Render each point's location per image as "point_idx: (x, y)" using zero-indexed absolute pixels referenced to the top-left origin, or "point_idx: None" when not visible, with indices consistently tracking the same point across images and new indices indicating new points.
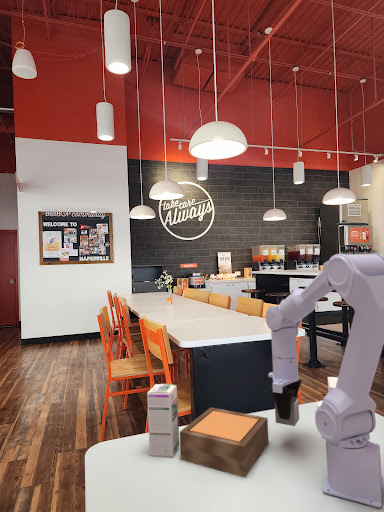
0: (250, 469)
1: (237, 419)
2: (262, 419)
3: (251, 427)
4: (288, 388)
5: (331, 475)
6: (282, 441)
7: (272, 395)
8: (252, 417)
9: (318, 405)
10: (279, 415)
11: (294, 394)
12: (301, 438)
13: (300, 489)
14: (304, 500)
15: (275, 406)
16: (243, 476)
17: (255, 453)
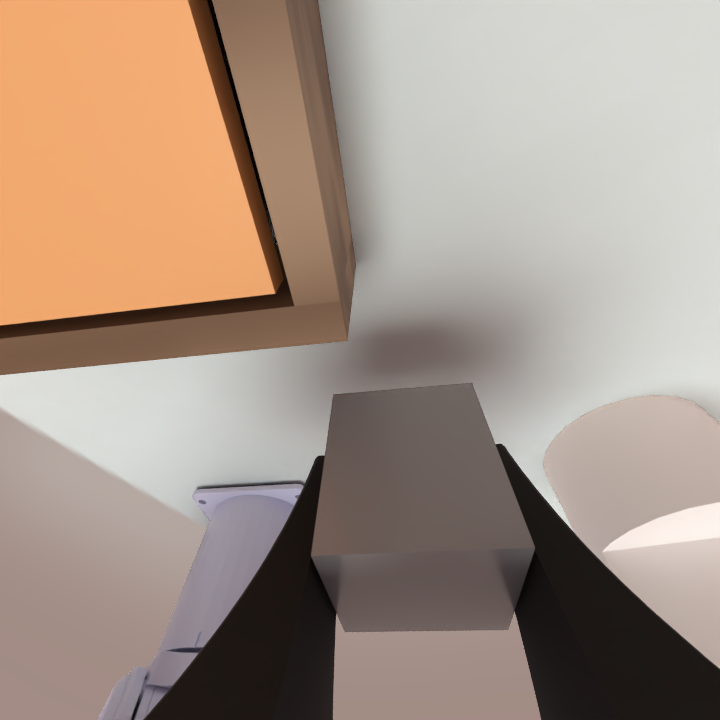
0: None
1: (88, 83)
2: (294, 320)
3: (100, 312)
4: (562, 704)
5: (205, 537)
6: (418, 313)
7: (177, 685)
8: (273, 219)
9: (704, 507)
10: (310, 473)
11: (527, 643)
12: (488, 371)
13: (162, 450)
14: (132, 466)
15: (318, 502)
16: None
17: None
